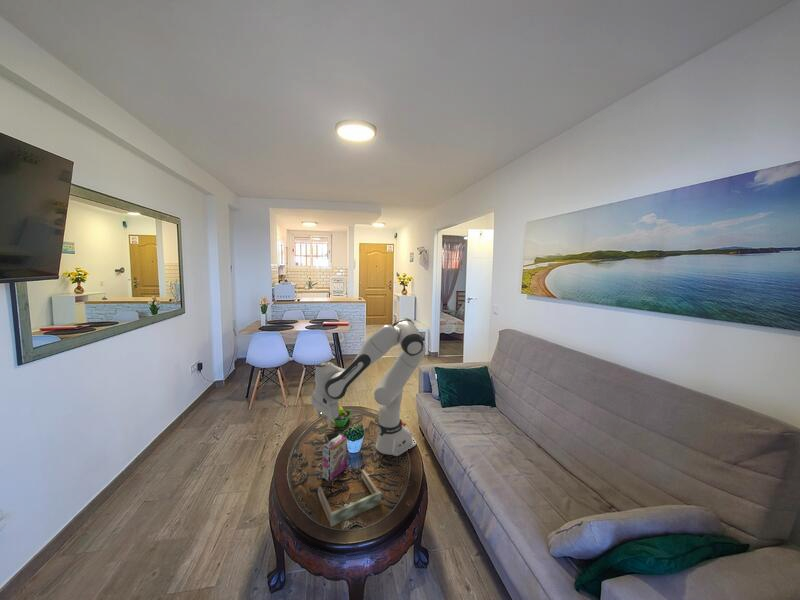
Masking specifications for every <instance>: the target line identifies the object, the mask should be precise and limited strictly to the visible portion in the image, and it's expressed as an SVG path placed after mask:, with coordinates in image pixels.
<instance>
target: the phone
mask: <svg viewBox="0 0 800 600" xmlns="http://www.w3.org/2000/svg"><path fill="white" fill-rule="evenodd" d="M338 435H340V433H339V431H334V432H330V433H326V434H325V435H324V439H325V440H326V443H327V442H329V441H330V440H332V439H334V438H335V437H337V436H338Z"/></svg>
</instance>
